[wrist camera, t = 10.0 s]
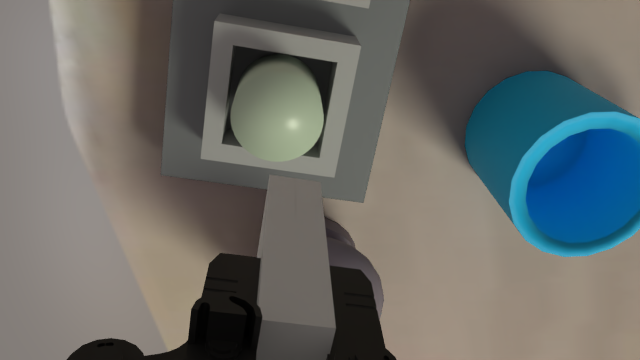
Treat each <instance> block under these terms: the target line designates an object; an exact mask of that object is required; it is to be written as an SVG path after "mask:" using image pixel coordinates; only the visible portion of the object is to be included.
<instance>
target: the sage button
mask: <svg viewBox="0 0 640 360" xmlns="http://www.w3.org/2000/svg"><path fill="white" fill-rule="evenodd" d="M230 118H231V126H232V130H233V132H234V135H235V137H236V139H237V140H238V142H239V143H240V144H241V146H242V147H243V148H244V149H245V150H247V151H248V152H249V153H251V154H252V155H254V156H256V157H258V158H260V159H263V160H267V161H273V162H283V161H289V160H292V159H295V158H297V157H300V156H301V155H303V154H305V153H306V152H307V151H309V150H310V149H311V148H312V147H313V146H314V144H315V143H316V142H317V140H318V138H319V136H320V134H321V131H322V128H323V122H324V114H323V108H322V102H321V96H320V91H319V85H318V82H317V79H316V77H315V75H314V74H313V72H312V71H311V70H310V68H309V67H308V66H307V65H306V64H305V63H303V62H302V61H300V60H298V59H297V58H294V57H292V56H288V55H283V54H272V55H267V56H264V57H261V58H259V59H257V60H256V61H254V62H253V63H252V64H250V65H249V66H248V67H247V69H246V70H245V71H244V73H243V74H242V76H241V78H240V81H239V84H238V87H237V91H236V94H235V97H234V100H233V104H232V108H231V116H230Z"/></svg>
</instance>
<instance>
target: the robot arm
mask: <svg viewBox="0 0 640 360" xmlns="http://www.w3.org/2000/svg"><path fill="white" fill-rule="evenodd" d="M376 308H377V307H376V302H375V299H374V293H373V288H372V283H371V281H370V280H369V279H368V278H367V276H366V275H365V274H364V273H363V272H362V270H361V269H353V268H346V267H338V266H330V265H329V258H328V248H327V239H326V229H325V220H324V210H323V201H322V192H321V182H317V181H311V180H304V179H297V178H290V177H283V176H276V175H270V176H269V182H268V188H267V195H266V201H265V208H264V214H263V220H262V227H261V233H260V239H259V246H258V252H257V258H256V257H248V256H241V255H233V254H225V253H220V254H219V255H218V256H217V257H216V258H215V259H214V260H213V261H212V262H210V263H209V267H208V272H207V276H206V280H205V284H204V289H203V293H202V297H201V298H200V299H198V300H197V301H196V302H195V304H194V305H193V307H192V309H191V318H190V327H189V337H188V341H187V342H186V343H184V344H183V345H182V346H180V347H179V348H177V349H174V350H172V351H169V352H165V353H161V354H155V355H148V356H144V355H143V353H142V352H141V350H140V349H139V348H138V347H137V346H136V345H134V344H132V343H129V342H127V341H125V340H119V339H112V338H110V339H102V340H96V341H93V342H90V343H88V344H85V345H82V346H81V347H80V348H79V349H77V350H76V351H75V352H73V353H72V354H71V355H70V356H69V358H68V359H67V360H396V358H395V357H394V356H393V355H392V354H391V353H390V352H389V351H388V350H387V349H386V348H385V344H384V339H383V335H382V330H381V325H380V321H379V316H378V311H377V310H376Z"/></svg>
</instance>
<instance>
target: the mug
mask: <svg viewBox="0 0 640 360" xmlns="http://www.w3.org/2000/svg"><path fill="white" fill-rule="evenodd" d="M465 149H466V153H467V156H468V160H469V163H470V165H471V166H472V168H473V169H474V170H475V172H476V173H477V175H478V176H479V178H480V179H481V180H482V182H483V183H484V184H485V186H486V187H487V188H488V190H489V191H490V193H491V194H492V195H493V197H494V198H495V199H496V201H497V202H498V203H499V205H500V206H501V208H502V209H503V210H504V212H505V213H506V214H507V216H508V217H509V218H510V220H511V221H512V223H513V224H514V225H515V227H516V228H517V229H518V231H519V232H520V233H521V235H522V236H523V238H524V239H525V240H526V241H528V242H529V243H531V244H532V245H534V246H535V247H537V248H538V249H540V250H541V251H543V252H547V253H551V254H555V255H559V256H563V257H571V256H588V255H592V254H595V253H598V252H601V251H605V250H608V249H611V248H613V247H614V246H616V245H618V244H619V243H621V242H623V241H624V240H626V239H628V238H629V237H631V236H633V235H634V234H635V233H636V232H637V231H638V230H639V229H640V119H639V118H638V117H636V116H634V115H632V114H631V113H629V112H627V111H625V110H624V109H622V108H620V107H618V106H617V105H615V104H613V103H611V102H610V101H608V100H606V99H604V98H603V97H601V96H599V95H597V94H596V93H594V92H592V91H590V90H589V89H587V88H585V87H583V86H582V85H580V84H578V83H576V82H575V81H573V80H571V79H569V78H568V77H566V76H563V75H559V74H556V73H553V72H550V71H527V72H524V73H521V74H518V75H515V76H512V77H509V78H506V79H505V80H503V81H502V82H500V83H499V84H498V85H496V86H495V87H493V88H492V89H490V90H489V91H488V92H487V93H486V94H485V95H484V97H483V98H482V99H481V100H480V102H479V103H478V104H477V105H476V106H475V108H474V110H473V112H472V115H471V117H470V119H469V122H468V124H467V126H466V137H465Z"/></svg>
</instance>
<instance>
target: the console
mask: <svg viewBox="0 0 640 360" xmlns="http://www.w3.org/2000/svg"><path fill="white" fill-rule="evenodd" d="M409 3H410V0H173V7H172V21H171V35H170V49H169V64H168V78H167V92H166V106H165V121H164V135H163V149H162V163H161V175H164V176H171V177H178V178H186V179H193V180H200V181H207V182H215V183H222V184H229V185H237V186H244V187H251V188H259V189H266V190H267V188H268V182H269V176H270V175H276V176H283V177H290V178H297V179H304V180H311V181H317V182H321V192H322V197H324V198H331V199H339V200H346V201H353V202H361V203H364V198H365V194H366V190H367V185H368V181H369V176H370V172H371V168H372V163H373V159H374V155H375V150H376V146H377V142H378V137H379V133H380V129H381V124H382V120H383V116H384V111H385V107H386V103H387V98H388V94H389V90H390V85H391V81H392V77H393V72H394V68H395V64H396V59H397V55H398V50H399V46H400V42H401V37H402V33H403V29H404V24H405V20H406V16H407V11H408V7H409ZM272 54H283V55H288V56H292V57H294V58H297V59H298V60H300V61H302V62H303V63H305V64H306V65H307V66H308V67H309V68H310V70H311V71H312V72H313V74H314V75H315V77H316V79H317V82H318V85H319V91H320V96H321V102H322V108H323V114H324V122H323V128H322V131H321V134H320V136H319V138H318V140H317V142H316V143H315V144H314V146H313V147H312V148H311V149H310V150H309V151H307V152H306V153H305V154H303V155H301V156H300V157H297V158H295V159H292V160H289V161H283V162H273V161H267V160H263V159H260V158H258V157H256V156H254V155H252V154H251V153H249V152H248V151H247V150H245V149H244V148H243V147H242V146H241V144H240V143H239V142H238V140H237V139H236V137H235V135H234V132H233V130H232V126H231V118H230V116H231V108H232V104H233V100H234V97H235V94H236V91H237V87H238V84H239V81H240V78H241V76H242V74H243V73H244V71H245V70H246V69H247V67H248V66H249V65H250V64H252V63H253V62H254V61H256V60H257V59H259V58H261V57H264V56H267V55H272Z"/></svg>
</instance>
